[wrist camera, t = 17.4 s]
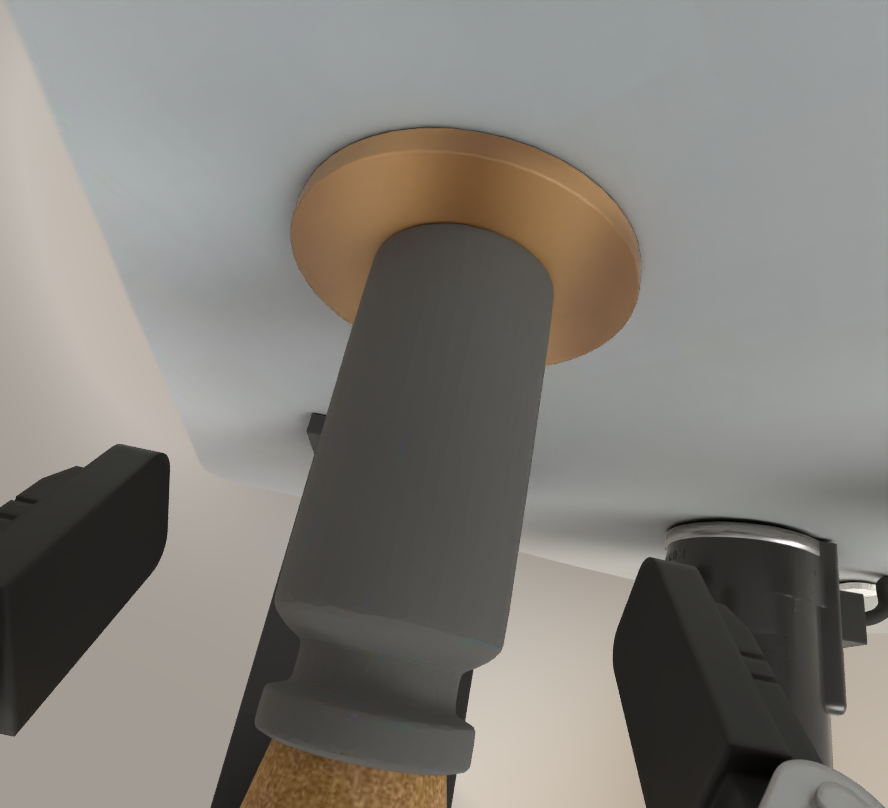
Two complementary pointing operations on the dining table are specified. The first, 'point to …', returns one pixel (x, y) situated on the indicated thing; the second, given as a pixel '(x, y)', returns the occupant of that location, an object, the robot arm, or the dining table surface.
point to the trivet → (471, 222)
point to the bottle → (408, 525)
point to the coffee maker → (275, 666)
